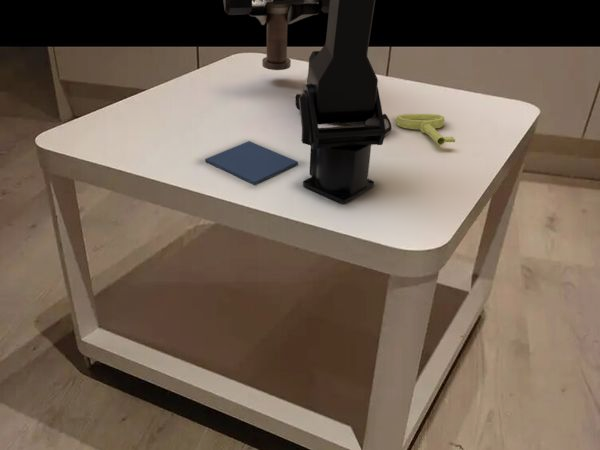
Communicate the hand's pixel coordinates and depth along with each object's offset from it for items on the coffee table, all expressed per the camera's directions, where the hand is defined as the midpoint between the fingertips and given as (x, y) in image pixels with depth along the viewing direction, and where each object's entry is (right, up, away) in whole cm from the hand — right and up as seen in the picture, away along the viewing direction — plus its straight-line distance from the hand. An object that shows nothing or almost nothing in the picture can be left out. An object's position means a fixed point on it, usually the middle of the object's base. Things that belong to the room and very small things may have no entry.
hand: (275, 21), depth 103 cm
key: (+23, -21, -12) cm, 33 cm away
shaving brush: (0, -7, +3) cm, 7 cm away
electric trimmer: (+10, -19, -10) cm, 24 cm away
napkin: (-2, -26, -23) cm, 34 cm away
